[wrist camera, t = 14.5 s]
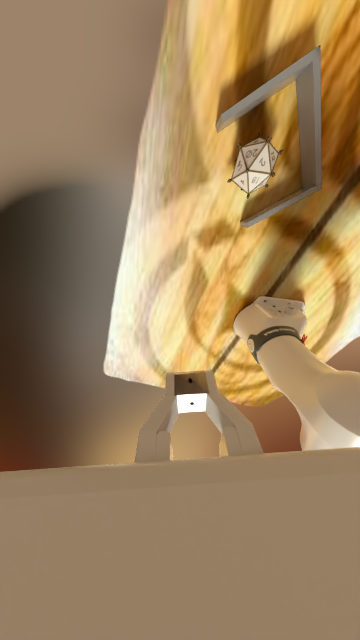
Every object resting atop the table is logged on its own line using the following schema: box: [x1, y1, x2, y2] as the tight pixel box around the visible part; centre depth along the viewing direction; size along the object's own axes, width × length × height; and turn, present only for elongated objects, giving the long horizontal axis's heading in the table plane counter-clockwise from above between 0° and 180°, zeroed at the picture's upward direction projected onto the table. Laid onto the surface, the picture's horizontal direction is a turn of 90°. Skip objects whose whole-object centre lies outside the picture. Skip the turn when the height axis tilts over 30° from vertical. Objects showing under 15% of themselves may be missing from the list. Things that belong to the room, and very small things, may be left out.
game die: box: [227, 131, 284, 199], centre depth 30 cm, size 9×8×10 cm
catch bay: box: [216, 45, 322, 228], centre depth 31 cm, size 15×18×4 cm
